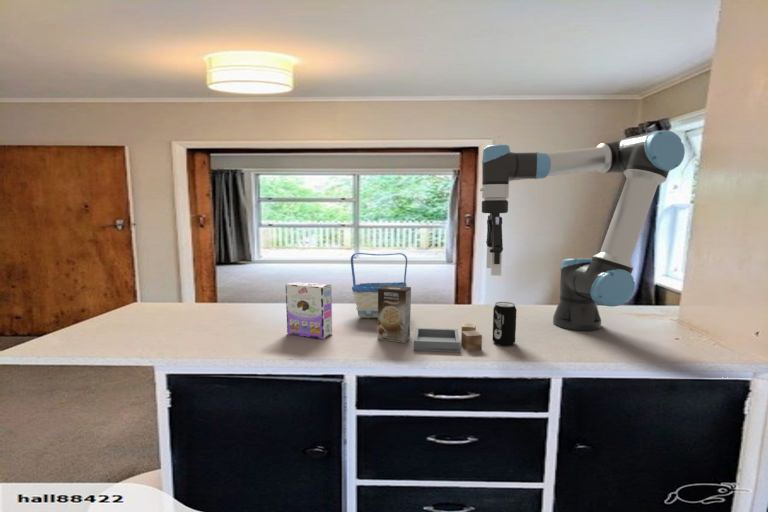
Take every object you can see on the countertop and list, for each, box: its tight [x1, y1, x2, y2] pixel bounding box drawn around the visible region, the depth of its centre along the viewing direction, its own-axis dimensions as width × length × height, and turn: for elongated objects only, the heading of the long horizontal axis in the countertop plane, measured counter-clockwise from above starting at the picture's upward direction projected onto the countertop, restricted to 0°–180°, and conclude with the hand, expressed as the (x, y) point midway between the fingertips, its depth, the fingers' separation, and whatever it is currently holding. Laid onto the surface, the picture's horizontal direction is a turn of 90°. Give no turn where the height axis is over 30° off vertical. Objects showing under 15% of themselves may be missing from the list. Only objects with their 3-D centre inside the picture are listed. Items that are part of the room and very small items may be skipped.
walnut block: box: [460, 330, 483, 352], centre depth 128 cm, size 4×4×4 cm
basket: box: [350, 252, 408, 319], centre depth 162 cm, size 21×16×24 cm
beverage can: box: [492, 301, 517, 347], centre depth 132 cm, size 7×7×12 cm
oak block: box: [460, 322, 477, 340], centre depth 138 cm, size 4×4×4 cm
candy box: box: [285, 280, 333, 340], centre depth 140 cm, size 14×6×16 cm, turn 65°
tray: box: [413, 327, 461, 353], centre depth 131 cm, size 13×13×3 cm
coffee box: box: [376, 285, 412, 343], centre depth 136 cm, size 9×6×16 cm
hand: (493, 271), depth 132 cm, fingers open, 13 cm apart
